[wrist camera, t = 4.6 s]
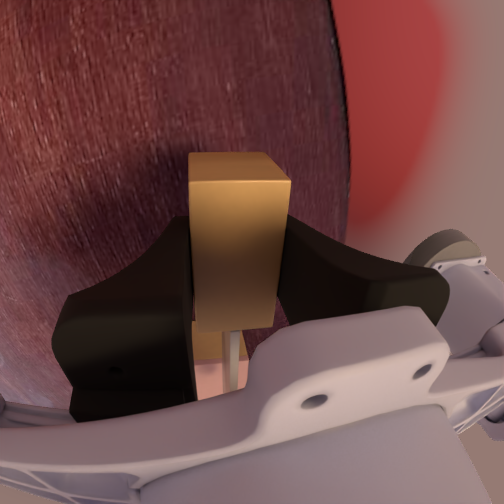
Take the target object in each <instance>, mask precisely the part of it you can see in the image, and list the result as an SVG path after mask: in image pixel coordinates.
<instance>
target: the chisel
mask: <svg viewBox="0 0 504 504" xmlns="http://www.w3.org/2000/svg"><path fill="white" fill-rule="evenodd" d="M188 186H189V220H190V244H191V262H192V279H193V293H194V307H195V319H196V331H197V333H210V332H222V381H223V394H224V393H228V392H231V391H235V390H237V389H238V367H239V346H240V330H246V329H257V328H266V327H272V326H273V320H274V313H275V306H276V298H277V291H278V284H279V277H280V269H281V262H282V254H283V246H284V238H285V230H286V222H287V214H288V206H289V197H290V188H291V180H290V179H289V178H288V177H287V176H286V175H285V173H284V172H283V171H282V170H281V169H280V168H279V167H278V166H277V165H276V164H275V163H274V162H273V161H272V160H271V159H270V157H269V156H268V155H267V154H266V153H264V152H197V153H189V154H188Z"/></svg>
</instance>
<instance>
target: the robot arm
mask: <svg viewBox="0 0 504 504" xmlns="http://www.w3.org/2000/svg"><path fill="white" fill-rule="evenodd" d="M485 262H486V257H485V256H476V257H468V258H460V259H452V260H443V261H436V262H434V263H432V265H431V267H430V268H428V267H421V266H414V265H408V264H403V263H399V262H394V261H390V260H386V259H383V258H379V257H376V256H373V255H370V254H367V253H364V252H361V251H358V250H356V249H353V248H351V247H349V246H346V245H344V244H342V243H340V242H337V241H335V240H333V239H332V238H330V237H328V236H326V235H324V234H322V233H320V232H318V231H316V230H315V229H313V228H311V227H309V226H308V225H306V224H304V223H303V222H301V221H299V220H297V219H296V218H294V217H292V216H290V215H288V214H287V222H286V230H285V238H284V246H283V254H282V262H281V269H280V277H279V284H278V291H277V296H278V299H279V301H280V303H281V306H282V308H283V310H284V312H285V315H286V317H287V319H288V322H289V325H290V326H288V327H285V328H281V329H279V330H278V331H277V332H275V333H274V334H272V335H271V336H270V337H268V338H267V339H266V340H264V341H263V342H261V343H260V344H259V345H258V346H257V347H256V349H255V351H254V353H253V355H252V357H251V359H250V361H249V364H248V375H247V382H246V385H245V387H244V388H241V389H238V390H235V391H231V392H228V393H224V394H221V395H217V396H213V397H210V398H206V399H202V400H198V396H197V387H196V377H195V367H194V356H193V344H192V309H193V279H192V262H191V244H190V220H189V216H175V217H174V218H173V219H172V220H171V221H170V223H169V224H168V226H167V227H166V228H165V230H164V231H163V232H162V234H161V235H160V236H159V237H158V239H157V240H156V241H155V242H154V243H153V244H152V245H151V247H150V248H149V249H148V250H147V251H146V252H145V253H144V254H143V255H141V256H140V257H139V258H138V259H137V260H135V261H134V262H133V263H131V264H130V265H128V266H127V267H126V268H124V269H123V270H121V271H120V272H118V273H117V274H115V275H113V276H111V277H110V278H108V279H106V280H104V281H102V282H100V283H98V284H96V285H94V286H92V287H89V288H87V289H84V290H81V291H79V292H76V293H74V294H71V295H68V297H67V300H66V302H65V304H64V306H63V308H62V310H61V313H60V315H59V318H58V321H57V324H56V327H55V330H54V332H53V335H52V350H53V353H54V355H55V358H56V360H57V361H58V363H59V365H60V367H61V368H62V370H63V372H64V373H65V375H66V377H67V378H68V380H69V382H70V383H71V385H72V386H73V391H72V396H71V402H70V408H69V410H66V409H56V408H48V407H40V406H33V405H26V404H20V403H14V402H8V401H5V400H4V398H3V397H2V395H1V394H0V484H2V485H5V486H8V487H11V488H14V489H17V490H20V491H23V492H26V493H29V494H33V495H36V496H39V497H43V498H46V499H50V500H53V501H57V502H61V503H65V504H492V502H491V500H490V497H489V495H488V493H487V491H486V489H485V487H484V485H483V483H482V481H481V479H480V477H479V475H478V473H477V471H476V469H475V467H474V465H473V463H472V461H471V459H470V457H469V456H468V454H467V452H466V450H465V448H464V446H463V445H462V443H461V441H460V439H459V437H458V434H460V433H461V432H463V431H464V430H466V429H467V428H469V427H470V426H472V425H473V424H474V423H476V422H477V423H478V424H480V425H481V426H482V428H483V429H484V430H485V432H486V433H487V434H488V436H489V437H490V438H492V440H494V441H504V283H503V282H502V281H501V280H499V278H498V277H497V276H495V275H494V274H493V273H492V272H491V271H490V270H489V269H488V268H487V267H486V266H485V265H484V264H485ZM450 351H451V353H452V354H453V355H451V356H449V355H450Z"/></svg>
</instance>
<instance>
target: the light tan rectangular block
mask: <svg viewBox="0 0 504 504" xmlns="http://www.w3.org/2000/svg"><path fill="white" fill-rule="evenodd" d="M192 344H193V356H194V367H195V377H196V387H197V396H198V400H202V399H206V398H210V397H213V396H217V395H221V394H223V381H222V332H210V333H197V331H196V321H192ZM248 364H249V358H248V356H247V351H246V346H245V342H244V338H243V334H242V330H240V346H239V367H238V389H241V388H244V387H245V385H246V382H247V375H248ZM238 389H237V390H238Z"/></svg>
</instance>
